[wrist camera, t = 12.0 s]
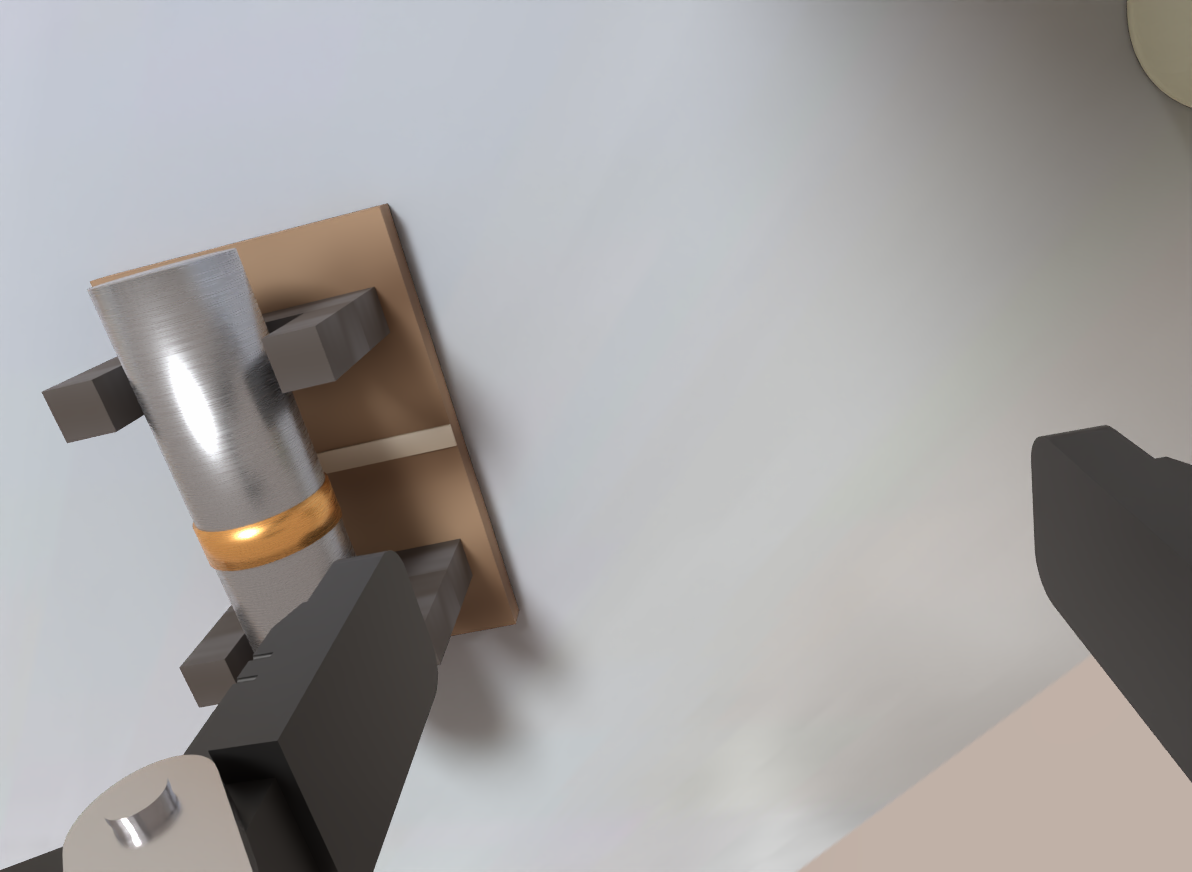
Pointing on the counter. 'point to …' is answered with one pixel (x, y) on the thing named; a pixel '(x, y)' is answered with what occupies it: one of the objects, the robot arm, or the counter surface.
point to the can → (1164, 44)
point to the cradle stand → (347, 423)
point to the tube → (227, 431)
